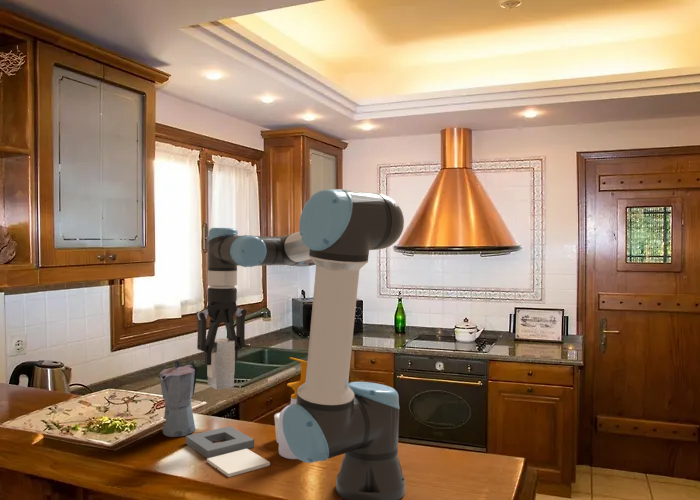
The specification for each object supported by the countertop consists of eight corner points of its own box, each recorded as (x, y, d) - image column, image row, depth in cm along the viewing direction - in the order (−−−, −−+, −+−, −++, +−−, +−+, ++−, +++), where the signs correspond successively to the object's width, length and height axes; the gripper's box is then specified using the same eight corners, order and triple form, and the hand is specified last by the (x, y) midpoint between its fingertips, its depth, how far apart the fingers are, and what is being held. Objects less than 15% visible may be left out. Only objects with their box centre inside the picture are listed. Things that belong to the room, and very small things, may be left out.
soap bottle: (271, 452, 144) (273, 356, 143) (300, 444, 150) (302, 352, 149) (292, 463, 137) (294, 363, 137) (321, 454, 143) (323, 358, 143)
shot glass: (301, 436, 155) (301, 411, 155) (296, 445, 149) (297, 419, 148) (277, 435, 156) (277, 410, 156) (271, 444, 149) (271, 418, 149)
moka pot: (147, 438, 152) (148, 364, 151) (180, 420, 166) (181, 353, 166) (177, 442, 149) (178, 367, 148) (208, 424, 164) (209, 356, 163)
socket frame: (254, 447, 147) (254, 439, 147) (207, 459, 139) (208, 450, 138) (230, 433, 157) (230, 426, 157) (185, 443, 148) (185, 436, 148)
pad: (269, 465, 135) (269, 462, 135) (228, 477, 128) (228, 473, 128) (246, 451, 144) (246, 448, 144) (206, 461, 137) (206, 458, 137)
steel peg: (234, 386, 147) (234, 340, 147) (216, 389, 144) (217, 342, 144) (224, 382, 151) (225, 338, 151) (207, 385, 148) (208, 339, 147)
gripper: (245, 284, 155) (244, 368, 156) (183, 287, 144) (182, 377, 144) (259, 286, 150) (258, 373, 150) (196, 289, 138) (194, 383, 139)
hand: (221, 375), depth 147 cm, fingers closed on steel peg, 5 cm apart
